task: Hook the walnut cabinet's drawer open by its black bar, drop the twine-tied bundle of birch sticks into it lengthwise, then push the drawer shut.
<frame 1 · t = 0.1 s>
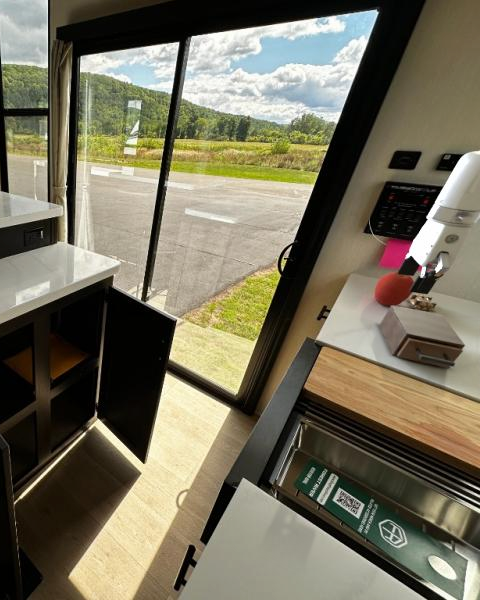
hand: (411, 283, 77), 29 cm above the countertop, tool pointing down, fingers open, 9 cm apart
drawer: (422, 343, 96), point 4 cm above the countertop, slide at 0.5 cm
cabinet: (410, 344, 102), on the countertop
bundle: (419, 306, 119), on the countertop
apple: (384, 304, 121), on the countertop
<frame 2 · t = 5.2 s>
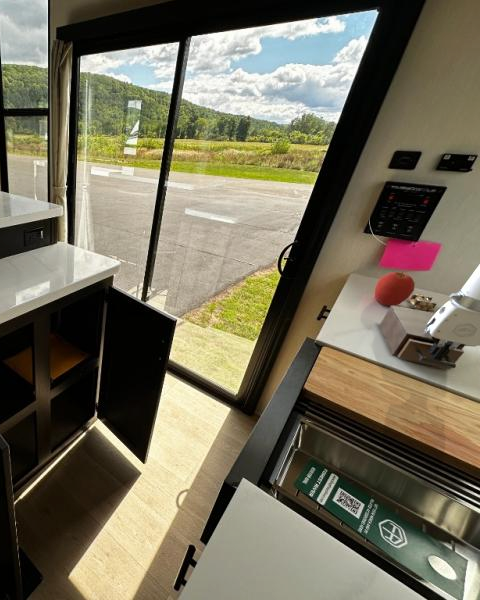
hand: (434, 356, 89), 6 cm above the countertop, tool pointing down, fingers closed
drawer: (423, 344, 95), point 4 cm above the countertop, slide at 1.1 cm, touching gripper
everything else where it was.
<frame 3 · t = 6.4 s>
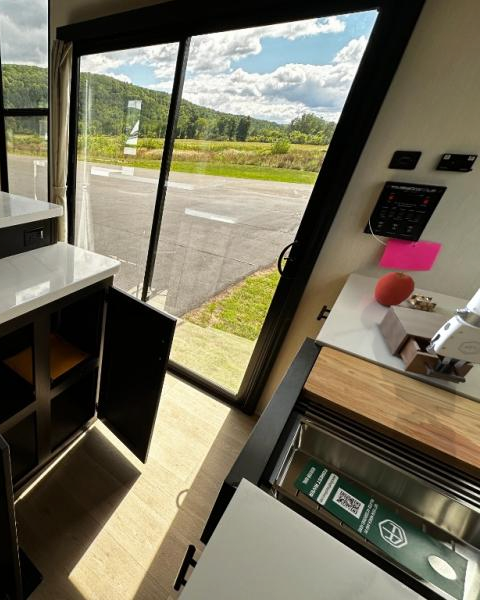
hand: (439, 373, 86), 4 cm above the countertop, tool pointing down, fingers closed
drawer: (430, 356, 91), point 4 cm above the countertop, slide at 7.0 cm, touching gripper
everything else where it was.
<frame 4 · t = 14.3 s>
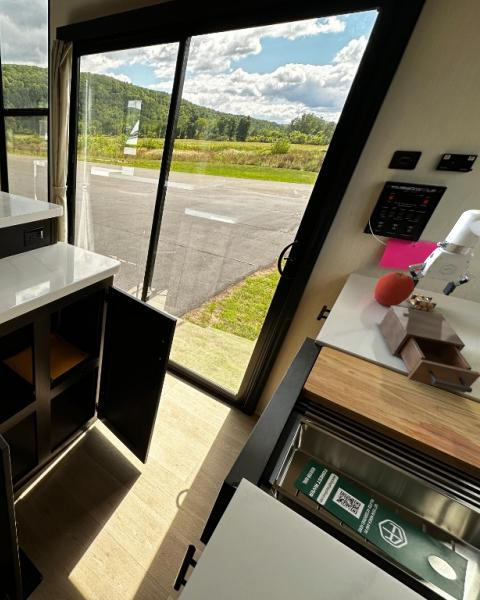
hand: (427, 290, 116), 7 cm above the countertop, tool pointing down, fingers open, 9 cm apart
drawer: (435, 364, 88), point 4 cm above the countertop, slide at 10.6 cm
apple: (384, 304, 121), on the countertop, touching gripper
everything else where it was.
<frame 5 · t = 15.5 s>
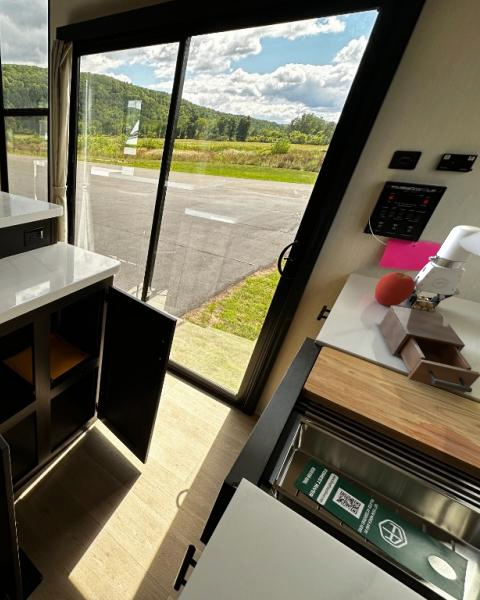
hand: (420, 305, 119), 1 cm above the countertop, tool pointing down, fingers closed on bundle, 5 cm apart
bundle: (419, 306, 119), on the countertop, touching gripper
apple: (384, 304, 121), on the countertop
everything else where it was.
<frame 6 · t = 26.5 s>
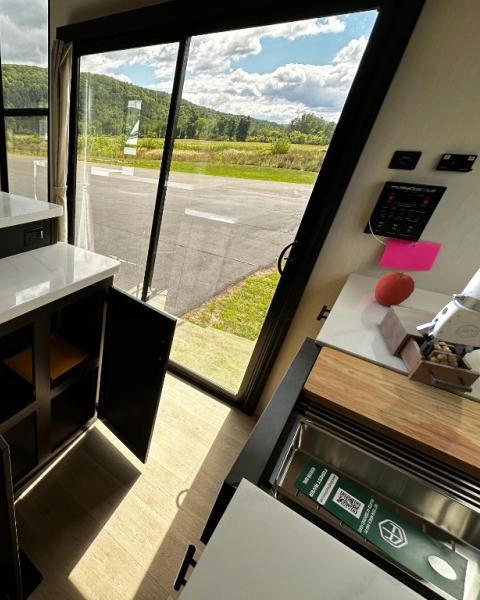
hand: (438, 356, 88), 6 cm above the countertop, tool pointing down, fingers closed on bundle, 5 cm apart
drawer: (435, 364, 88), point 4 cm above the countertop, slide at 10.6 cm, touching gripper
bundle: (437, 357, 88), point 6 cm above the countertop, touching gripper
everything else where it was.
when the fingers open (10 cm above the countertop, at t = 40.6 s): bundle drops 7 cm, resting on drawer.
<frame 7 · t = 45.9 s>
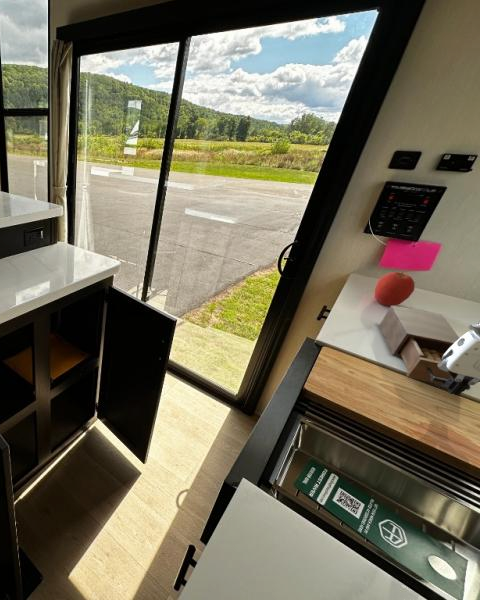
hand: (451, 390, 80), 4 cm above the countertop, tool pointing down, fingers closed
drawer: (433, 362, 89), point 4 cm above the countertop, slide at 9.6 cm, touching bundle, gripper
bundle: (427, 365, 91), point 2 cm above the countertop, touching drawer
everything else where it was.
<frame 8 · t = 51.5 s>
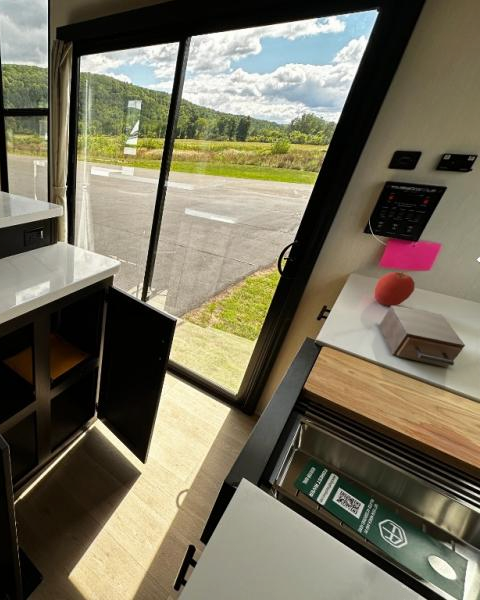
drawer: (422, 342, 96), point 4 cm above the countertop, slide at 0.0 cm, touching bundle
bundle: (416, 345, 98), point 2 cm above the countertop, touching drawer
everything else where it was.
at the end: drawer pulled out 10.8 cm at the most during the clip, back to where it started at the end; bundle inside the target area in the cabinet (2.9 cm from its centre), point 2.0 cm above the cabinet's base; drawer slide at 0.0 cm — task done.
